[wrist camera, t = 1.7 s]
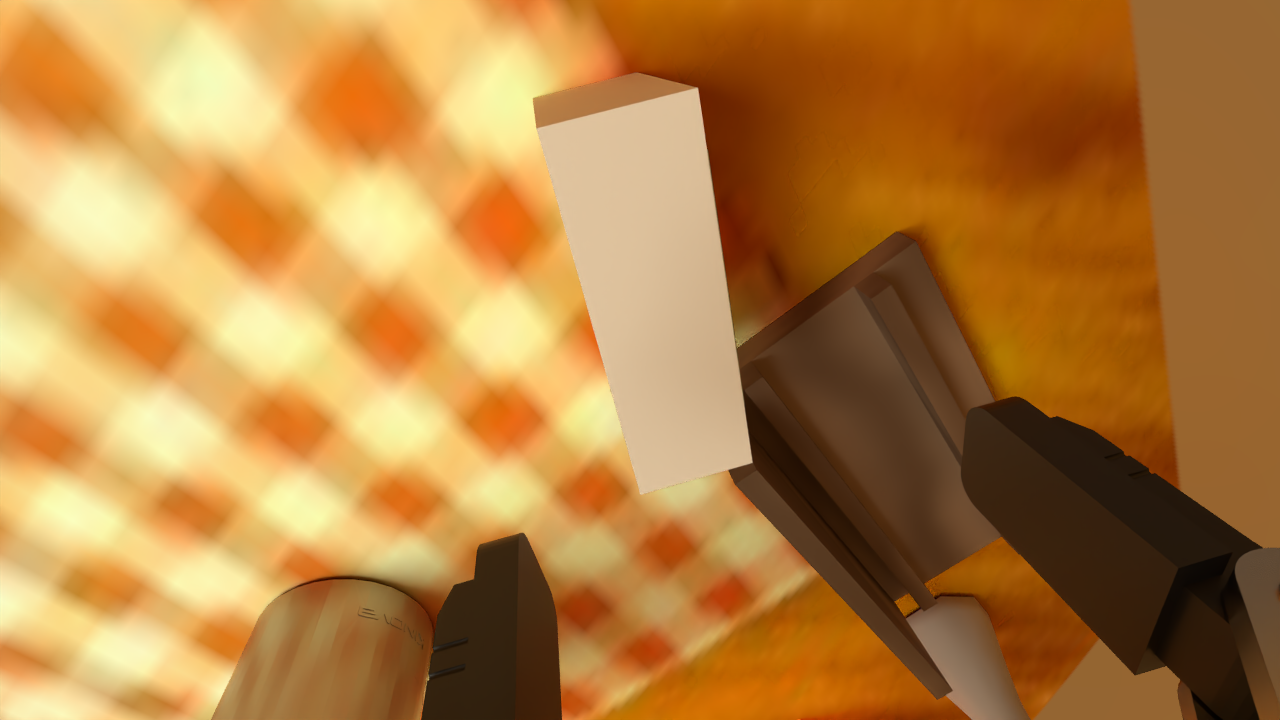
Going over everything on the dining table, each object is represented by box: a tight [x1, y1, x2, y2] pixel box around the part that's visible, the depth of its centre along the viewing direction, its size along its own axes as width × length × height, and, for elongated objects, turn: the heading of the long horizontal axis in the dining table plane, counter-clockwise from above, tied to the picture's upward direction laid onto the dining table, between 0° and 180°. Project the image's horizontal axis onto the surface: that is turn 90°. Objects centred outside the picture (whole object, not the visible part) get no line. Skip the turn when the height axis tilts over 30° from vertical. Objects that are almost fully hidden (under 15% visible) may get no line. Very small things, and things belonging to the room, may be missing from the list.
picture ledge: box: [729, 232, 1019, 700], centre depth 30 cm, size 12×22×8 cm, turn 37°
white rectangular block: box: [533, 72, 752, 495], centre depth 21 cm, size 12×4×9 cm, turn 12°
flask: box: [906, 596, 1030, 720], centre depth 38 cm, size 7×7×10 cm
